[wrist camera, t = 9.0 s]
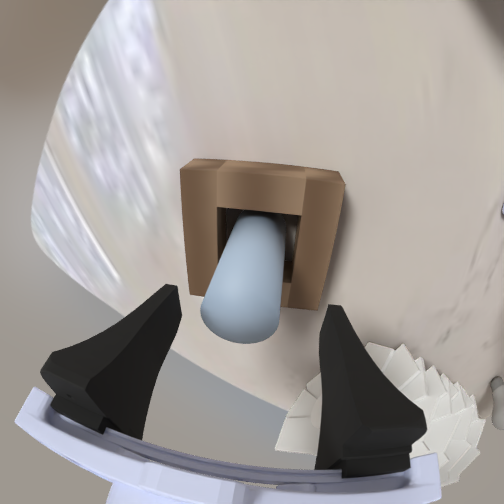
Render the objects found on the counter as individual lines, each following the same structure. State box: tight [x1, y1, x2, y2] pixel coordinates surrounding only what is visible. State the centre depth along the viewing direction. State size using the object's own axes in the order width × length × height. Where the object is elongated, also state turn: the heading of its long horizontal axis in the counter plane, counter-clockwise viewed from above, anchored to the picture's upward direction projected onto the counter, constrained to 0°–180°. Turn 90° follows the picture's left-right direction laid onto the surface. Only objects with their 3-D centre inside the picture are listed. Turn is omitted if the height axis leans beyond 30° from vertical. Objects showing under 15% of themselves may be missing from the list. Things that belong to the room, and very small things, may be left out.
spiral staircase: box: [275, 342, 486, 487], centre depth 24 cm, size 18×18×25 cm
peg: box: [201, 209, 286, 344], centre depth 18 cm, size 4×4×10 cm
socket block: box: [180, 159, 346, 310], centre depth 21 cm, size 11×11×3 cm
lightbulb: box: [491, 377, 504, 430], centre depth 26 cm, size 6×6×11 cm
